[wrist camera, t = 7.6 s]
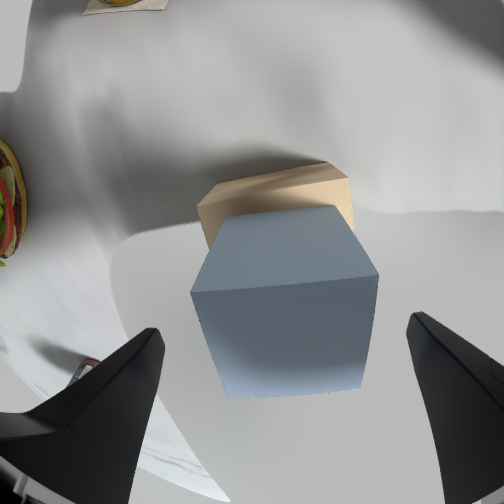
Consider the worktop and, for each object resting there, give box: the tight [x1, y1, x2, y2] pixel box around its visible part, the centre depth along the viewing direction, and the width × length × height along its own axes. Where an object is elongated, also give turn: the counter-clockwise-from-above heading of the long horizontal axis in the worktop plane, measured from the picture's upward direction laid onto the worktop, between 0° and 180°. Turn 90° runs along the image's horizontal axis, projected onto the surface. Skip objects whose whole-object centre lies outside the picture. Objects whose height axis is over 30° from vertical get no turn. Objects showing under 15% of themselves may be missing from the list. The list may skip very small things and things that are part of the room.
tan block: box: [196, 162, 354, 250], centre depth 16 cm, size 7×7×5 cm
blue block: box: [190, 206, 379, 398], centre depth 11 cm, size 5×5×6 cm
